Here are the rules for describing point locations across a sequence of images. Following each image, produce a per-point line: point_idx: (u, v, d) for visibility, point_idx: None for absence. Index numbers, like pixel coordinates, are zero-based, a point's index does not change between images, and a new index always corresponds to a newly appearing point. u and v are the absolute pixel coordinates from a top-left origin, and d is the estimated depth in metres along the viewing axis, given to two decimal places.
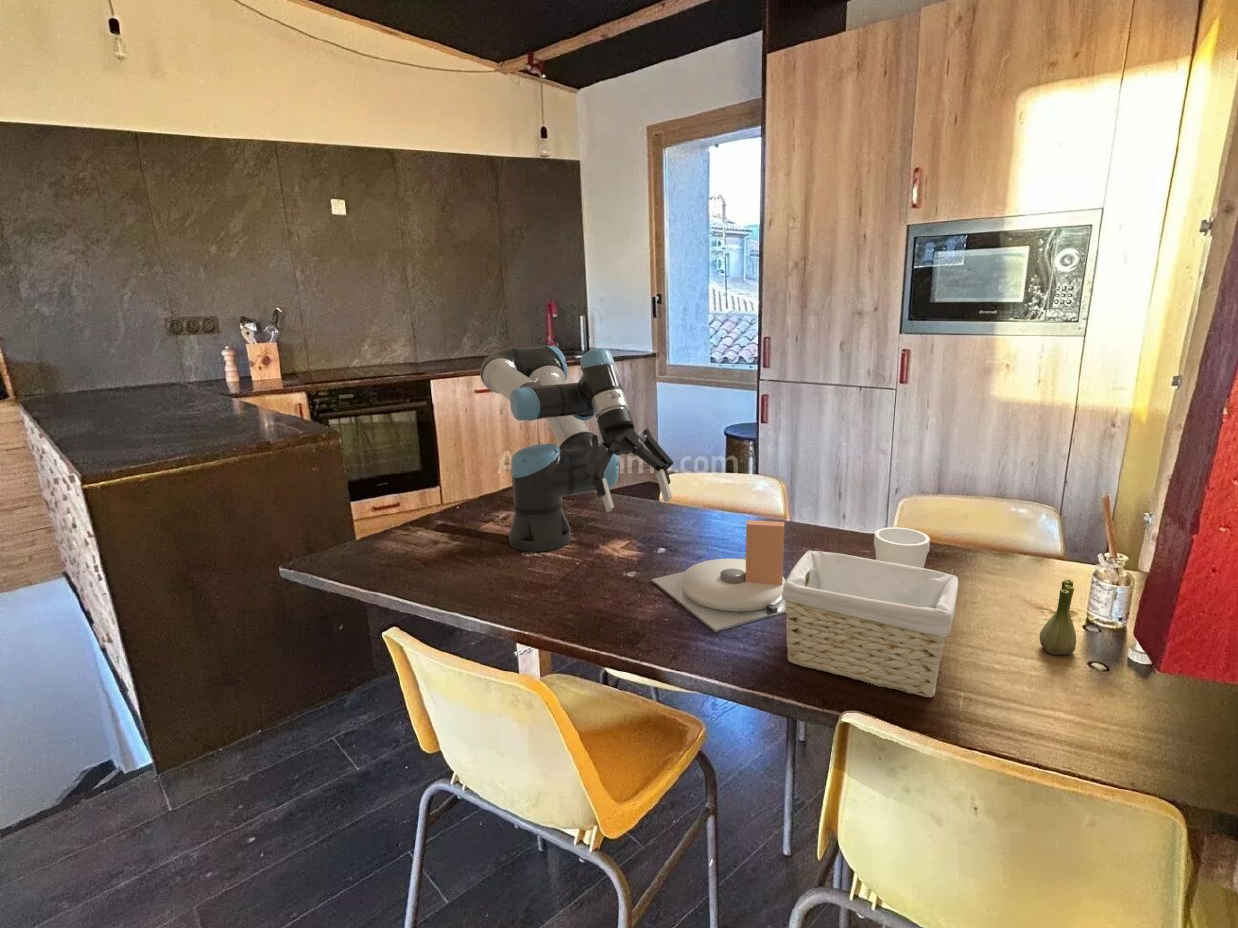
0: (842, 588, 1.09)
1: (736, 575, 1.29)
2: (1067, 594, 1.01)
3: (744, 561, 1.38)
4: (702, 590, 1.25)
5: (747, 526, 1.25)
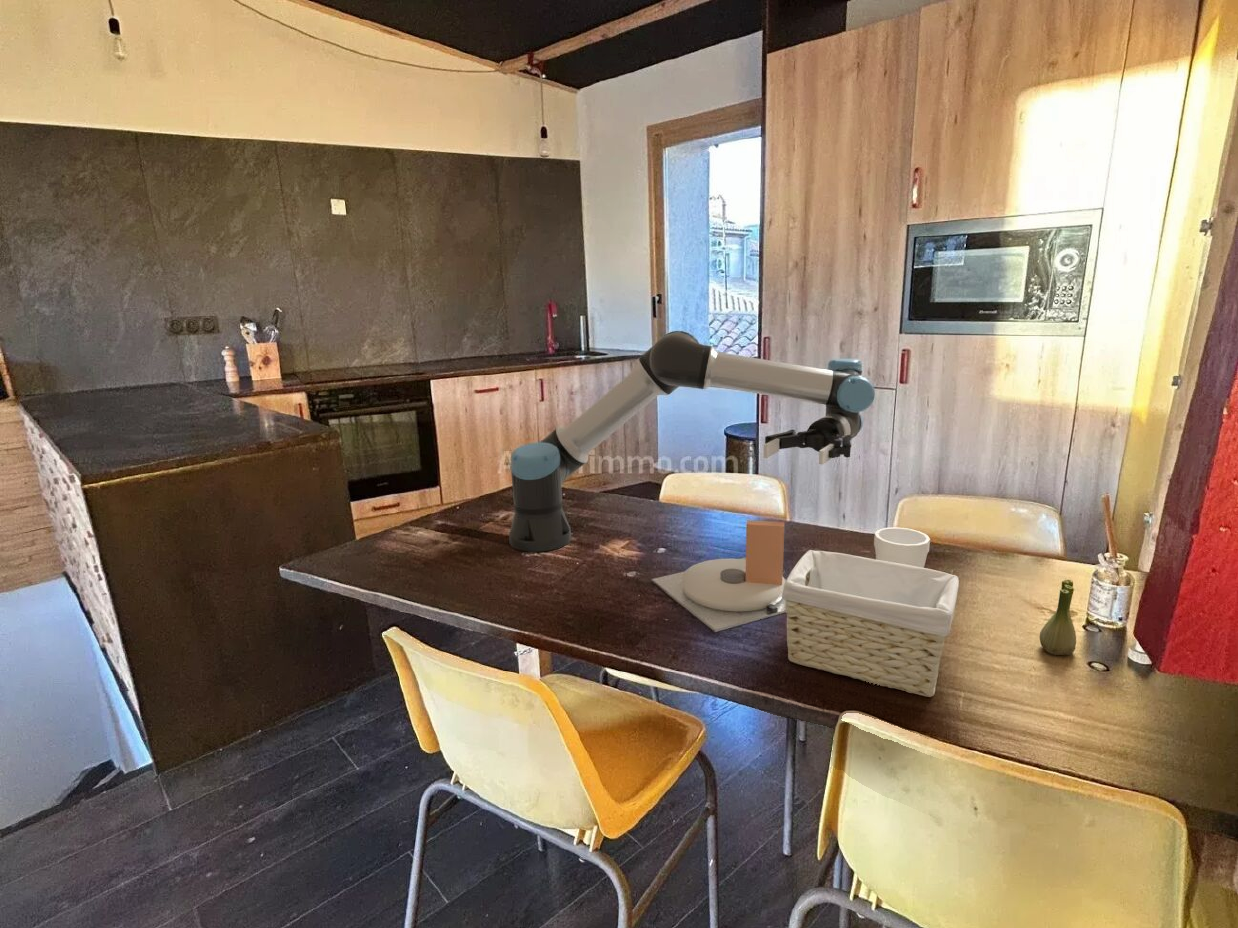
0: (843, 588, 1.10)
1: (736, 575, 1.29)
2: (1067, 594, 1.01)
3: (744, 561, 1.38)
4: (702, 590, 1.25)
5: (747, 526, 1.25)
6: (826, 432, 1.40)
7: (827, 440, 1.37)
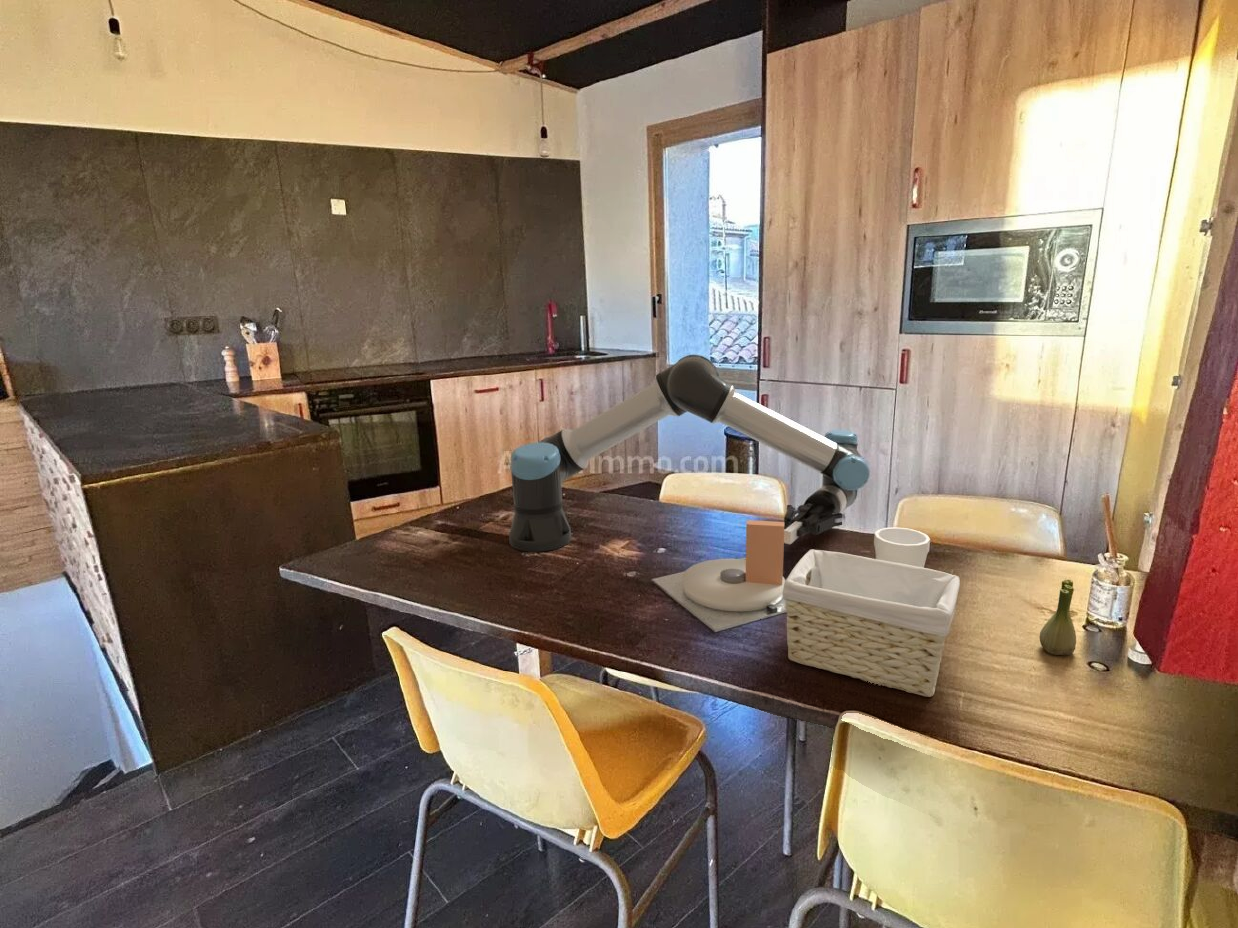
0: (844, 587, 1.10)
1: (736, 575, 1.29)
2: (1067, 594, 1.01)
3: (744, 561, 1.38)
4: (702, 590, 1.25)
5: (747, 526, 1.25)
6: (820, 508, 1.45)
7: None
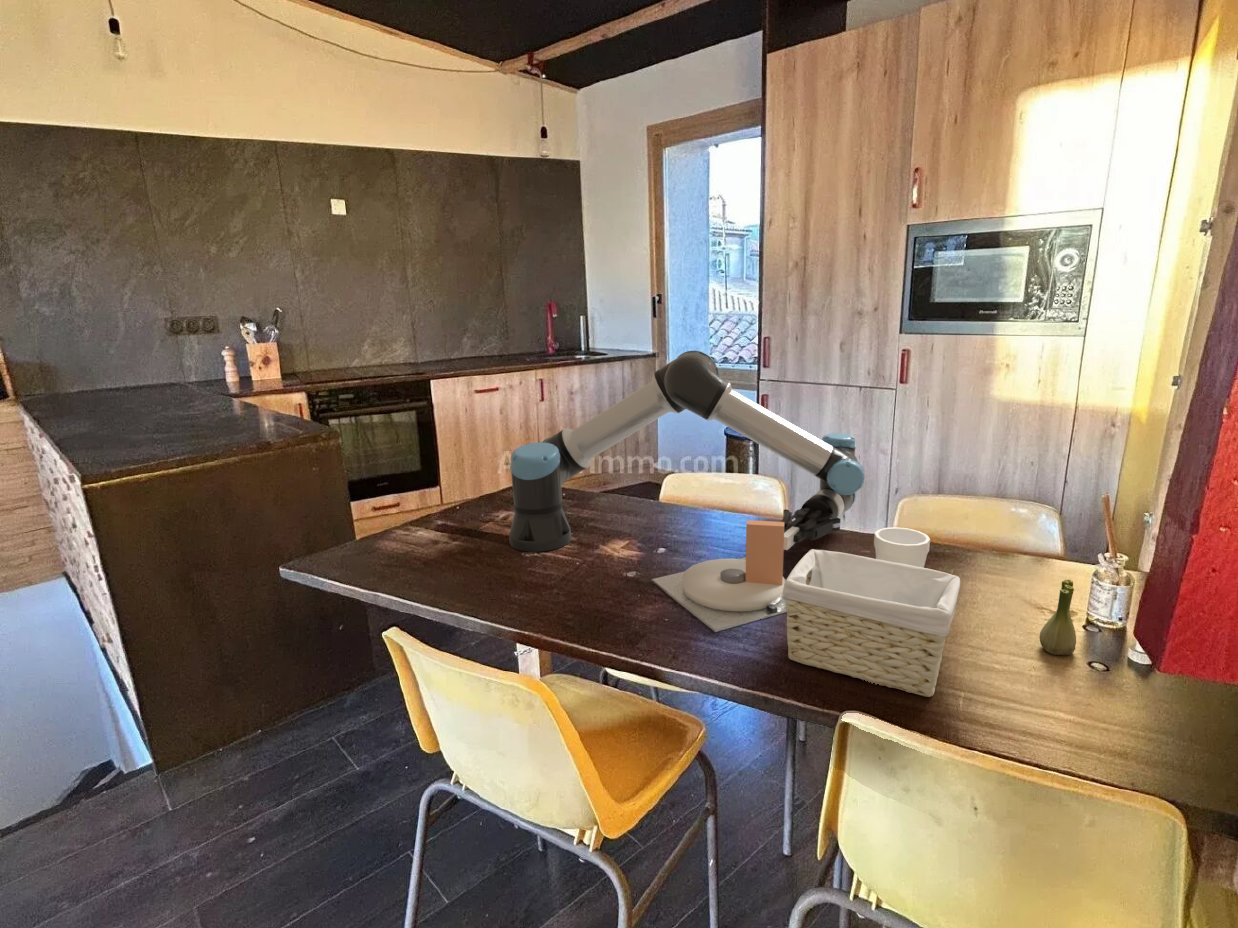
0: (845, 587, 1.10)
1: (736, 575, 1.29)
2: (1067, 594, 1.01)
3: (744, 561, 1.38)
4: (702, 590, 1.25)
5: (747, 526, 1.25)
6: (817, 512, 1.43)
7: None
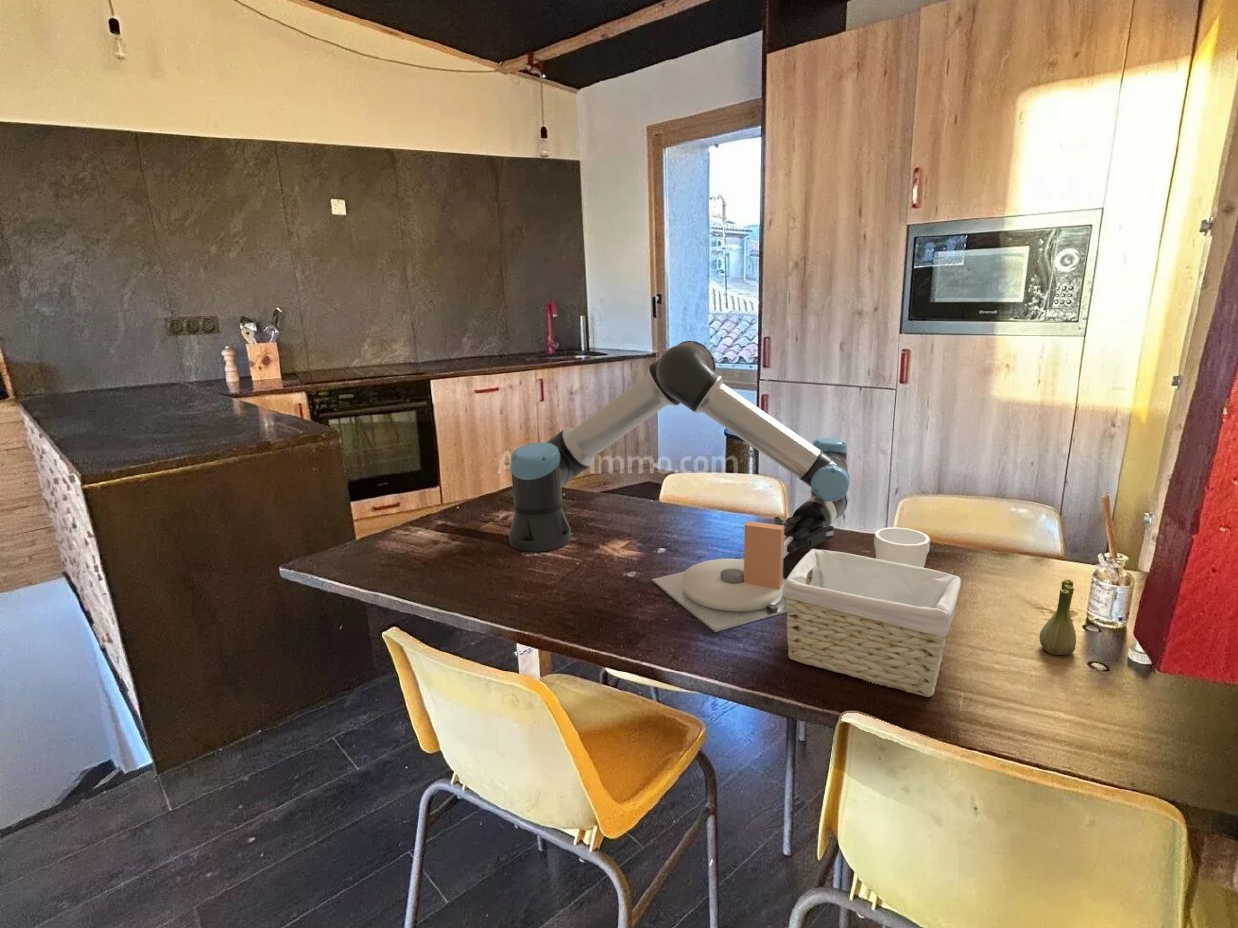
0: (845, 587, 1.10)
1: (735, 575, 1.29)
2: (1067, 594, 1.01)
3: None
4: (696, 587, 1.27)
5: (745, 527, 1.25)
6: (809, 520, 1.38)
7: None
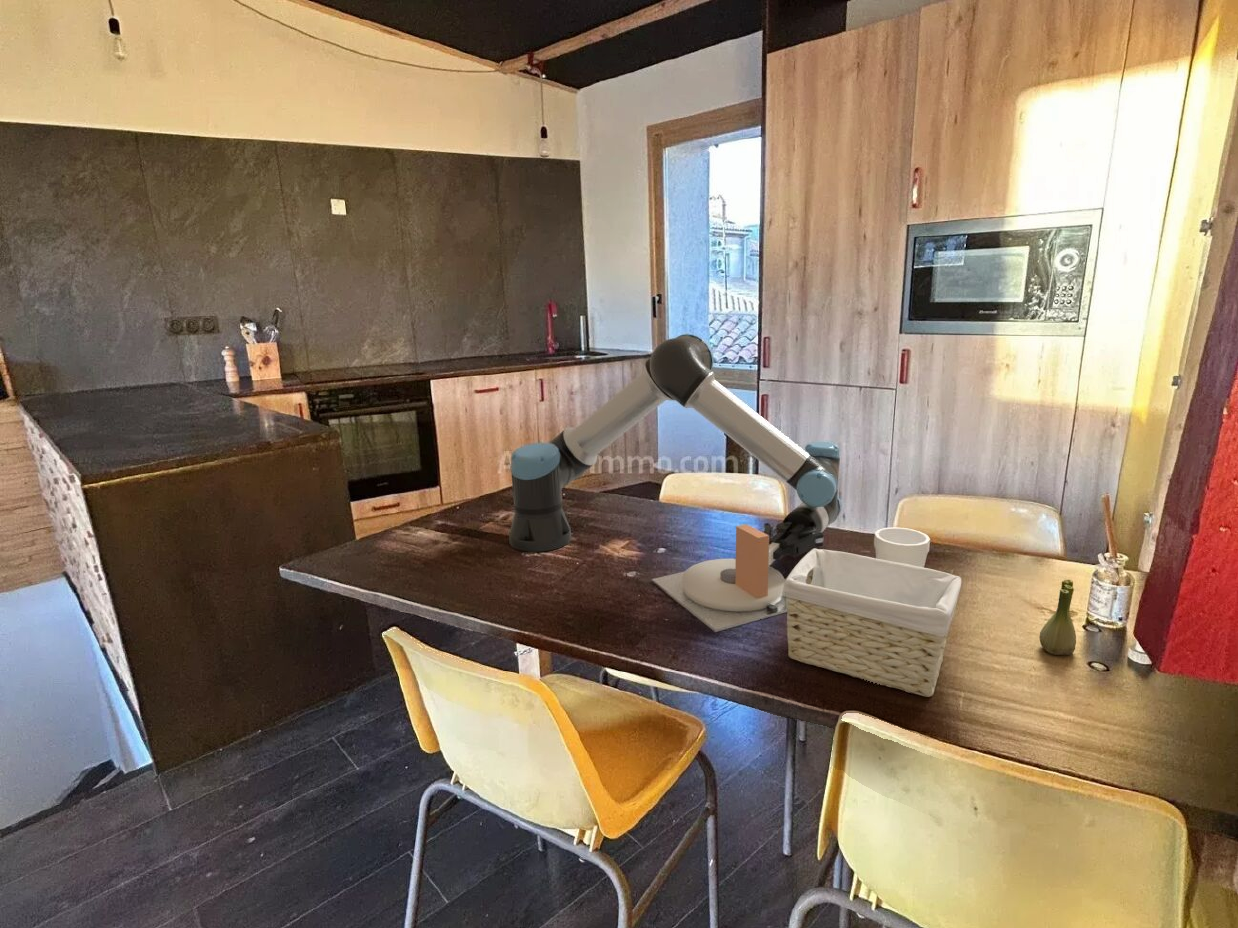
0: (846, 587, 1.10)
1: (732, 575, 1.29)
2: (1067, 594, 1.01)
3: (774, 572, 1.32)
4: (690, 575, 1.32)
5: (736, 528, 1.24)
6: (799, 527, 1.35)
7: None
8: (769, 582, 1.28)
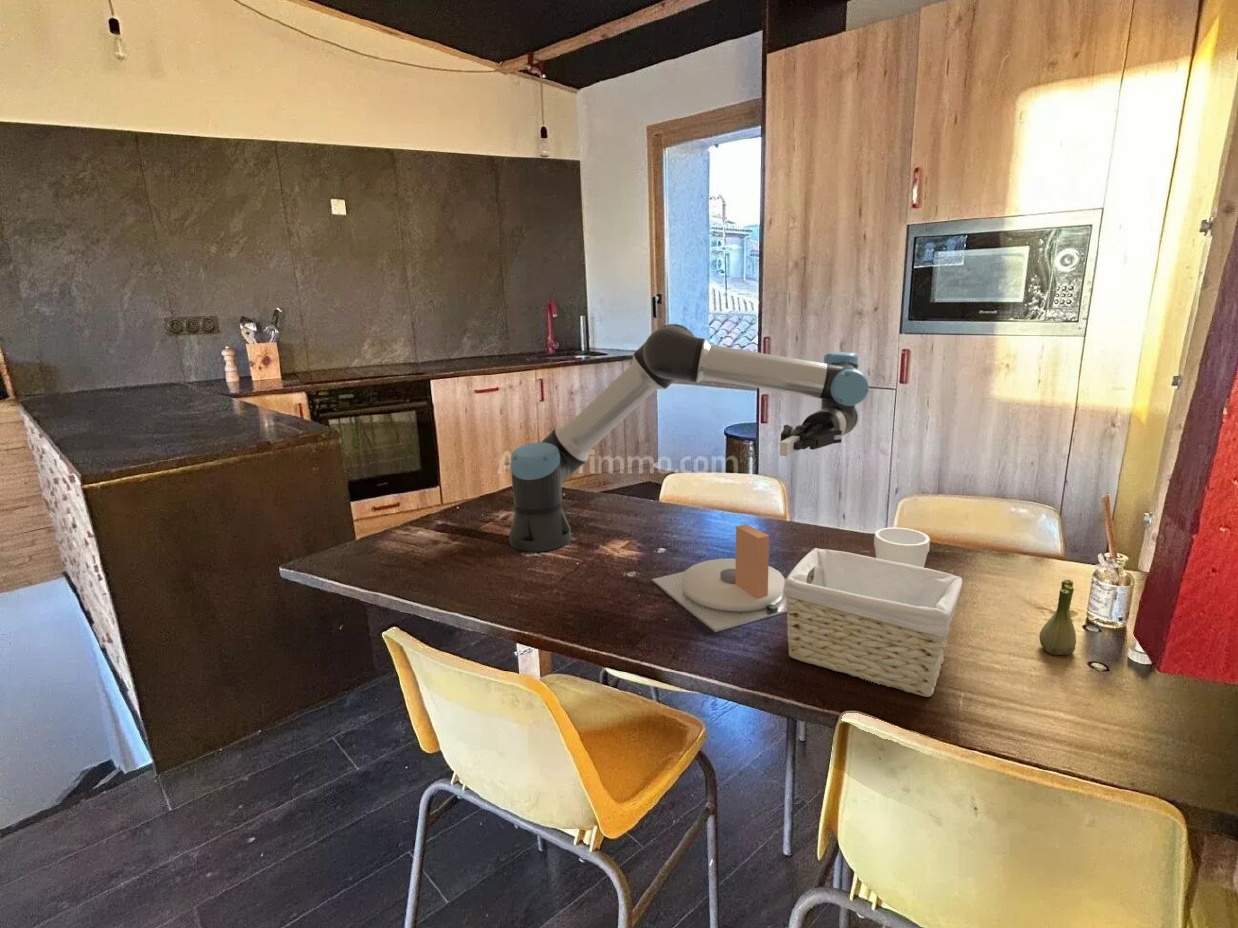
0: (847, 587, 1.10)
1: (732, 575, 1.29)
2: (1067, 594, 1.01)
3: (774, 572, 1.32)
4: (690, 575, 1.32)
5: (736, 528, 1.24)
6: (818, 425, 1.39)
7: None
8: (769, 582, 1.28)
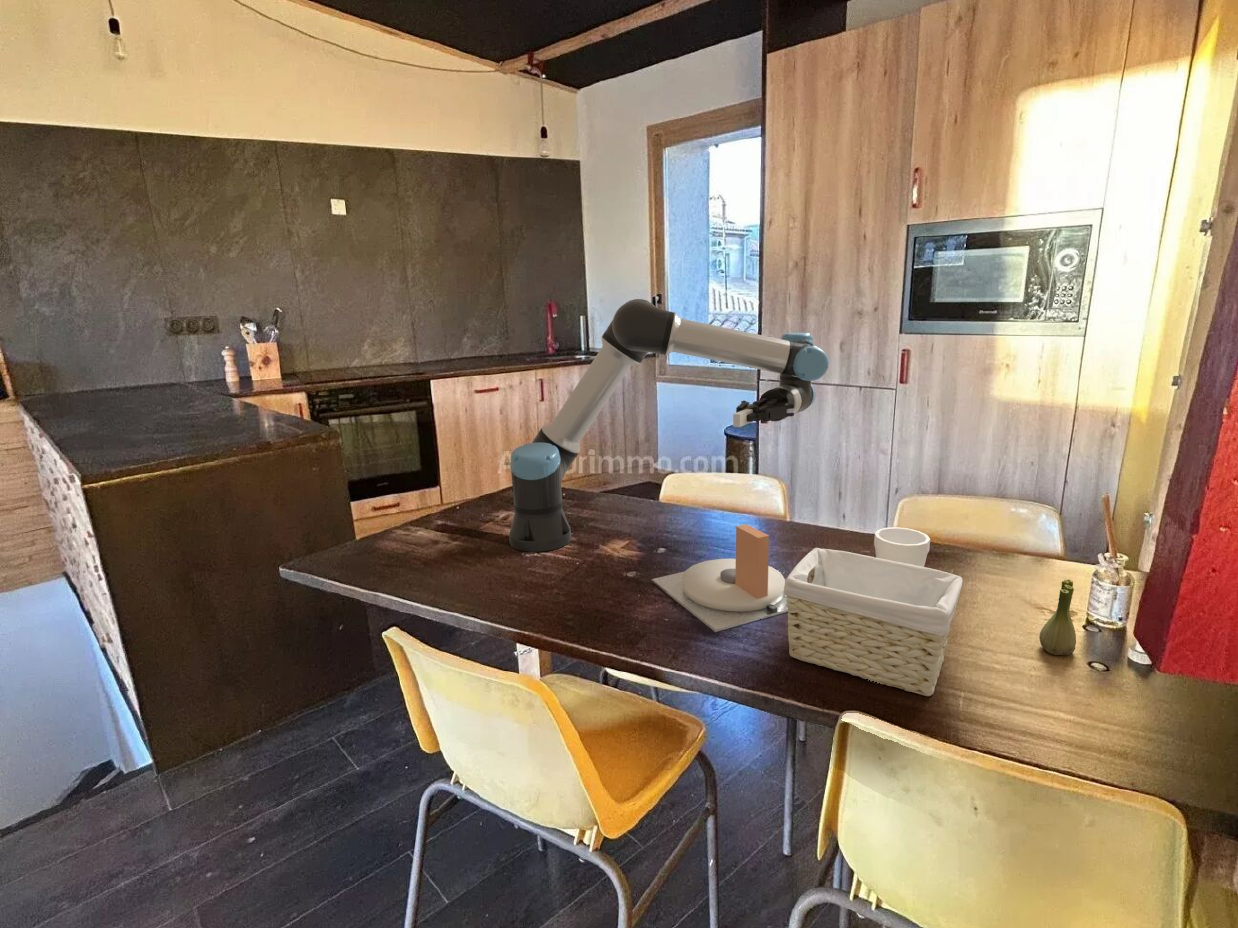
0: (848, 586, 1.10)
1: (732, 575, 1.29)
2: (1067, 594, 1.01)
3: (774, 572, 1.32)
4: (690, 575, 1.32)
5: (736, 528, 1.24)
6: (772, 400, 1.47)
7: None
8: (769, 582, 1.28)
